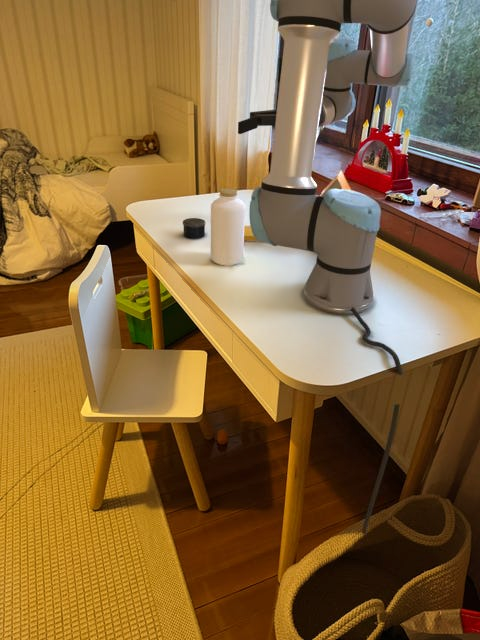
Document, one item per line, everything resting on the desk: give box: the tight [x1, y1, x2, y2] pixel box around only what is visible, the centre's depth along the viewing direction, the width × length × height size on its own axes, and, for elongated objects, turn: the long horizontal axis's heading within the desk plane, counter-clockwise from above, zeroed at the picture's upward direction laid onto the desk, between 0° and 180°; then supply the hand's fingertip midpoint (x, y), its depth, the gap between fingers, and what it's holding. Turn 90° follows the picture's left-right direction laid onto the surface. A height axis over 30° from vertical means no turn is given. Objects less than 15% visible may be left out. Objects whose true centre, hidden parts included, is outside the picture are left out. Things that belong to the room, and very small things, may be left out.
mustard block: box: [244, 225, 259, 242], centre depth 137 cm, size 8×6×2 cm
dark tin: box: [182, 217, 206, 240], centre depth 135 cm, size 6×6×4 cm
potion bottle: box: [210, 187, 246, 267], centre depth 118 cm, size 8×8×18 cm
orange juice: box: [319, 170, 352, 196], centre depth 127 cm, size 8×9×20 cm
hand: (260, 136), depth 112 cm, fingers open, 13 cm apart
